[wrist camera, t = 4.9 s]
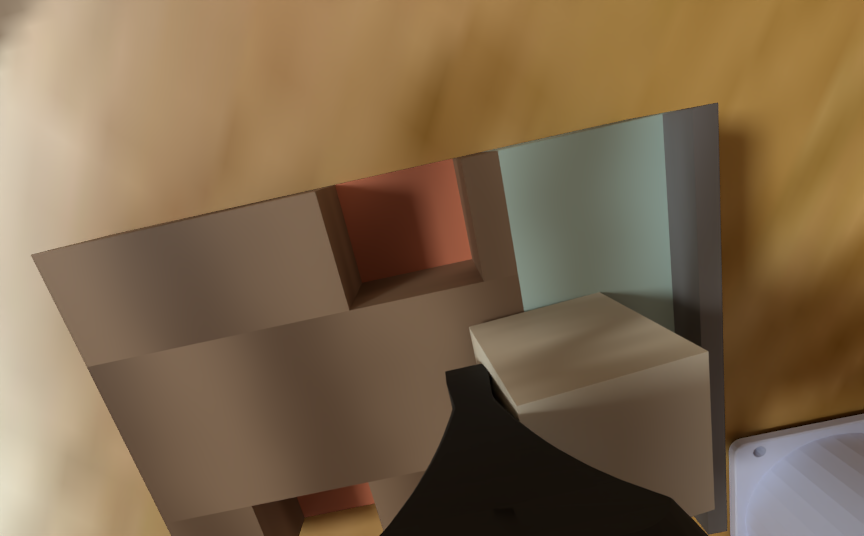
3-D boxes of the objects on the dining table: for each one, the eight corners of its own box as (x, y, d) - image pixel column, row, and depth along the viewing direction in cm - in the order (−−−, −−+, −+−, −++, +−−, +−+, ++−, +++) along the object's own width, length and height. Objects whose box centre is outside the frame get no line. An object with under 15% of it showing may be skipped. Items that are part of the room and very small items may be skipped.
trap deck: (627, 119, 13) (718, 102, 9) (652, 441, 17) (727, 530, 13) (112, 234, 14) (-15, 266, 10) (239, 525, 17) (184, 637, 13)
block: (599, 292, 12) (708, 351, 8) (612, 407, 13) (714, 509, 9) (468, 326, 11) (516, 405, 8) (493, 442, 13) (546, 563, 9)
